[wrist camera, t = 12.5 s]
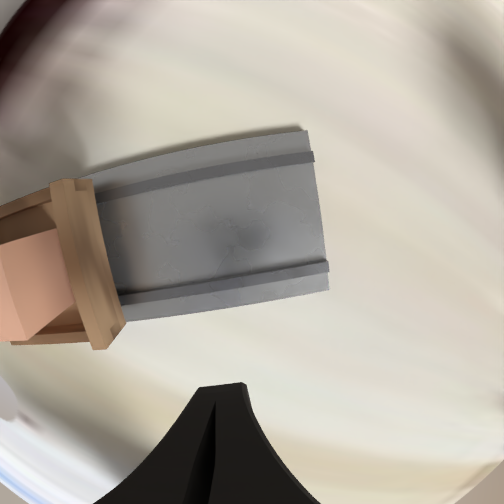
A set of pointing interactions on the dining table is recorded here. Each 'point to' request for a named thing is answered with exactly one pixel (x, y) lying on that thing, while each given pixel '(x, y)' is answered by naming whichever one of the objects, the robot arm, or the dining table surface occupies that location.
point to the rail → (213, 226)
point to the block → (32, 285)
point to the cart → (71, 260)
